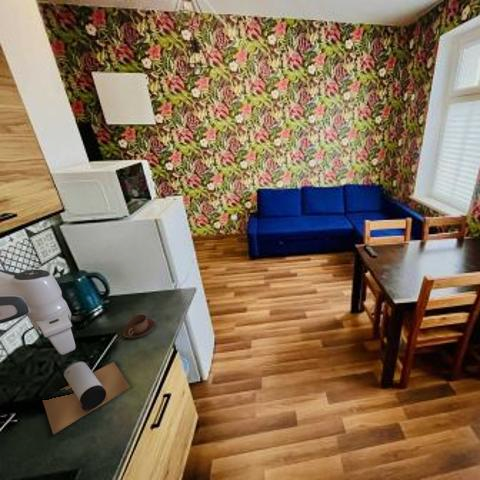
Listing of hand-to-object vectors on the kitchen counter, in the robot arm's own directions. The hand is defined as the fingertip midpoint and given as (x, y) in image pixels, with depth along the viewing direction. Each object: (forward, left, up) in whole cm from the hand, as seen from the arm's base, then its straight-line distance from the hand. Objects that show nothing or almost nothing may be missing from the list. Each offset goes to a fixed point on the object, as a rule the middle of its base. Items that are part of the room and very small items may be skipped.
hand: (67, 349), depth 90 cm
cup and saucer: (+23, +11, -14) cm, 29 cm away
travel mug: (-1, +2, -10) cm, 11 cm away
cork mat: (0, -9, -14) cm, 17 cm away
